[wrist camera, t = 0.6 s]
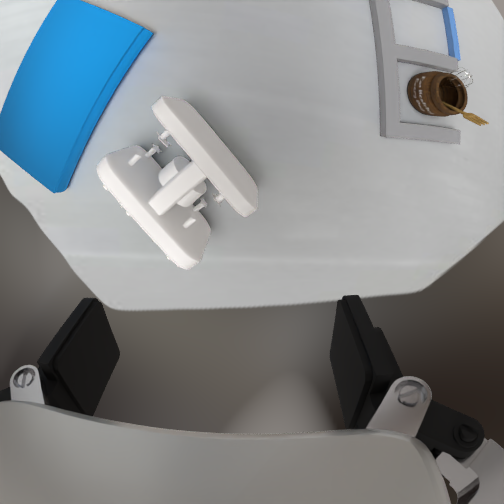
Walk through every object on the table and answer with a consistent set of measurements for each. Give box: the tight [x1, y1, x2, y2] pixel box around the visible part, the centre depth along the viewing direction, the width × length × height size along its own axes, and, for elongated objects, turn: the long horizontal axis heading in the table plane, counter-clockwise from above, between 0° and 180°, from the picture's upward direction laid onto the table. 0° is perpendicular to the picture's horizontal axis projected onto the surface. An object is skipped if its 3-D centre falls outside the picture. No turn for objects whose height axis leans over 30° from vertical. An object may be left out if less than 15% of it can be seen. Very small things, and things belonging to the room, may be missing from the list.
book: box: [0, 0, 153, 193], centre depth 30 cm, size 17×4×25 cm
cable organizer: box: [97, 96, 258, 269], centre depth 32 cm, size 15×11×12 cm
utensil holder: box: [408, 67, 488, 126], centre depth 26 cm, size 6×6×12 cm
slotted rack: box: [369, 0, 460, 144], centre depth 28 cm, size 23×13×2 cm, turn 4°
